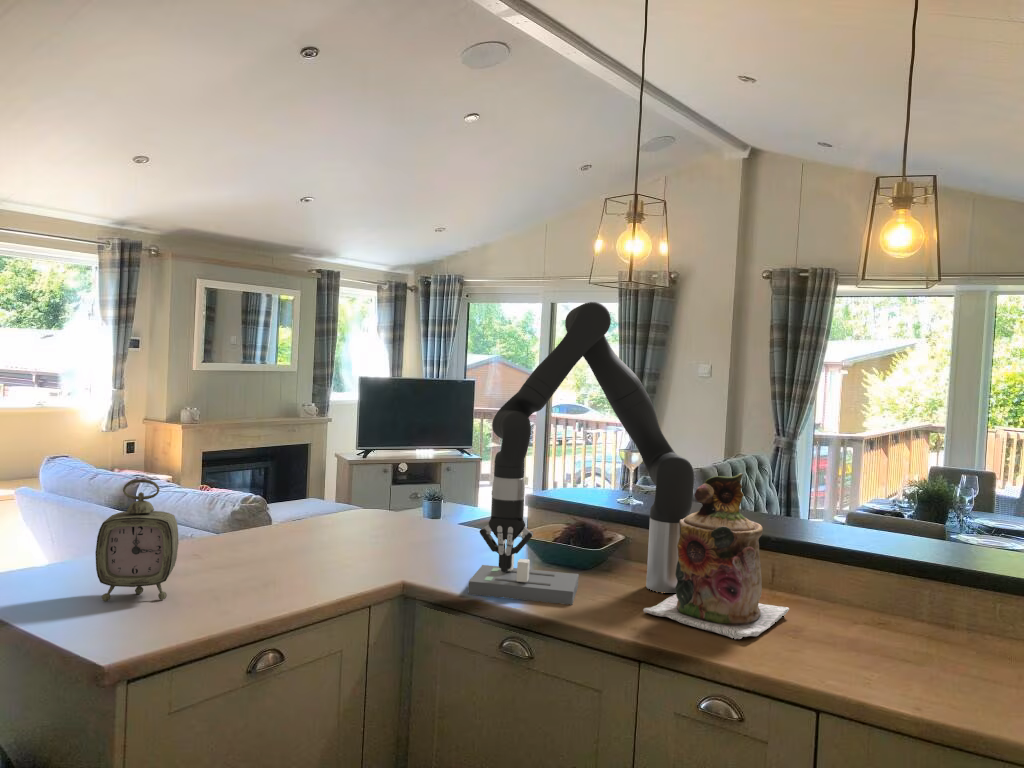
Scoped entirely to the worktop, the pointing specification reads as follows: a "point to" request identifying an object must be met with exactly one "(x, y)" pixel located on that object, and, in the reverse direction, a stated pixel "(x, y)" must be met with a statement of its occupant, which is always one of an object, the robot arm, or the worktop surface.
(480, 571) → the slider control panel
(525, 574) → the block
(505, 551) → the block
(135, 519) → the tabletop clock
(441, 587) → the worktop surface
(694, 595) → the cookie jar
